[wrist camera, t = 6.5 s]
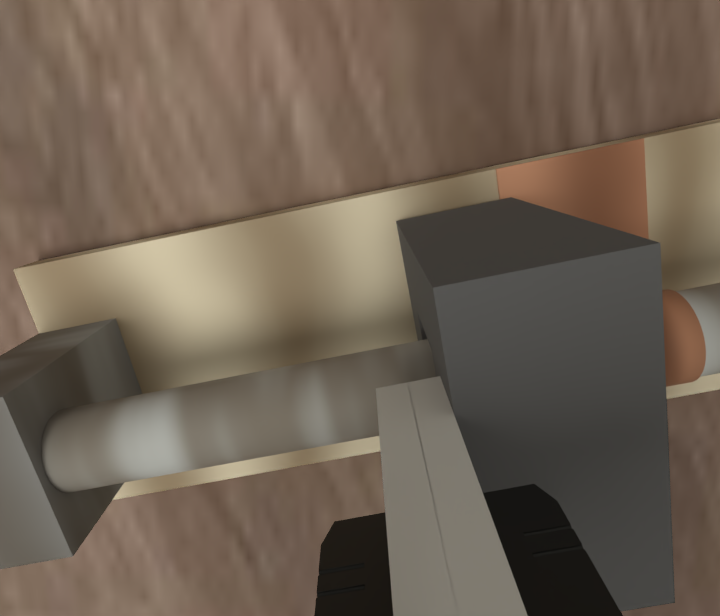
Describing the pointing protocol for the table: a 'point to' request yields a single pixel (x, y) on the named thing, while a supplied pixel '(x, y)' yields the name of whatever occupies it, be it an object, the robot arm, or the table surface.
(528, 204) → the collar
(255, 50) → the table surface
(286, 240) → the grey sliding block rail
